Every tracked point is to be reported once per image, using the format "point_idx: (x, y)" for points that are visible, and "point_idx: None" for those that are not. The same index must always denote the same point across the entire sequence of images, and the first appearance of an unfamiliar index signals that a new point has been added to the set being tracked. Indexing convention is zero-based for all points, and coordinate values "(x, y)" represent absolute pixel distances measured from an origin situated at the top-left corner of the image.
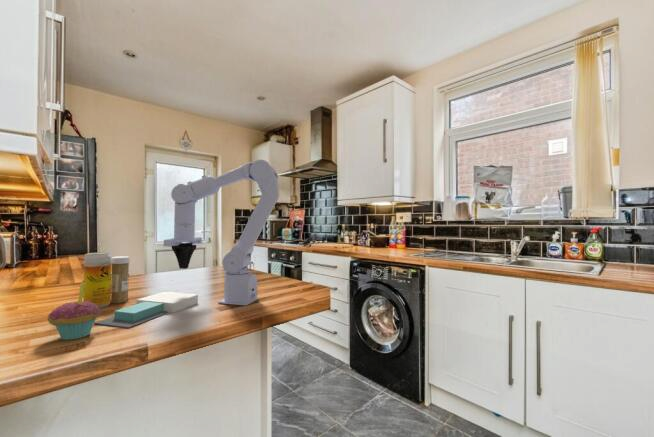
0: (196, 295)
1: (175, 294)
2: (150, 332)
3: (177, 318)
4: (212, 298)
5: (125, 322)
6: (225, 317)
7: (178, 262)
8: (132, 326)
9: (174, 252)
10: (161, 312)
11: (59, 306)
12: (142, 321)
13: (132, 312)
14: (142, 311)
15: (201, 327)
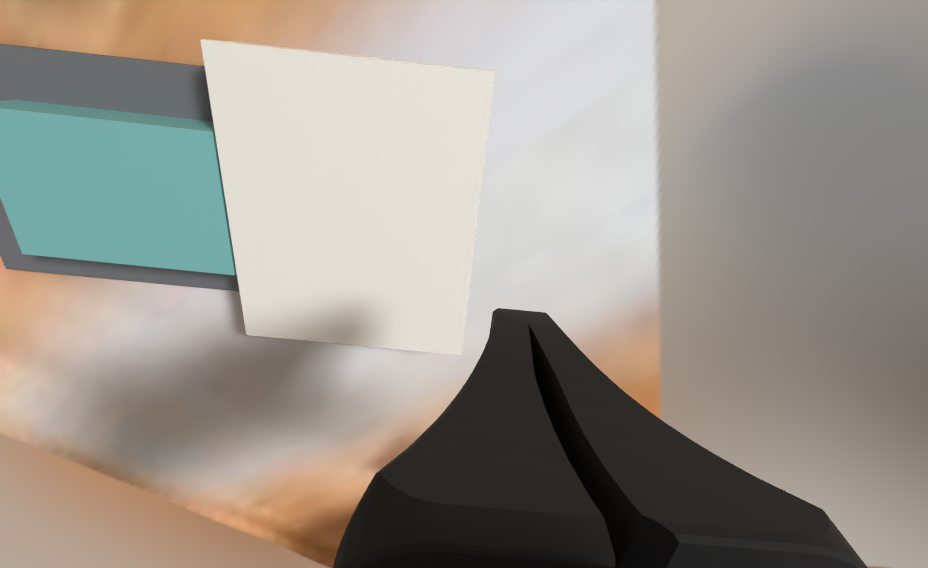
0: (448, 351)
1: (428, 224)
2: (46, 367)
3: (214, 367)
4: None
5: None
6: (303, 503)
7: (486, 346)
8: (29, 268)
9: (430, 432)
10: None
11: None
12: (86, 272)
13: (23, 234)
14: (82, 257)
15: (181, 480)
